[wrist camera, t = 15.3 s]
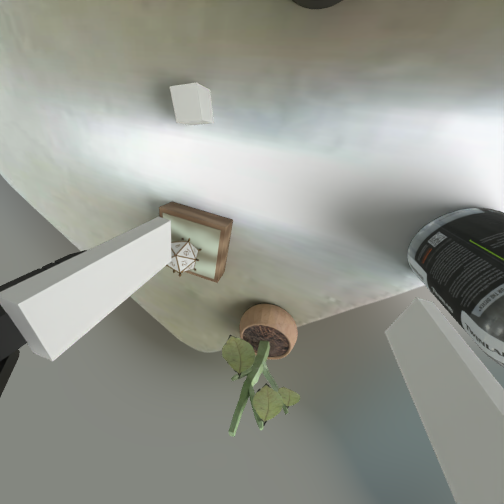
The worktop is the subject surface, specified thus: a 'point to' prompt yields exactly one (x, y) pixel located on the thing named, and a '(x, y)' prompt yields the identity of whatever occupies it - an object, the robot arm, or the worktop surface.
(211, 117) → the grey block
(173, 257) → the game die
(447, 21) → the worktop surface
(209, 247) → the walnut framed mirror
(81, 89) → the worktop surface
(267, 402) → the potted plant
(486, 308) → the supplement tub
